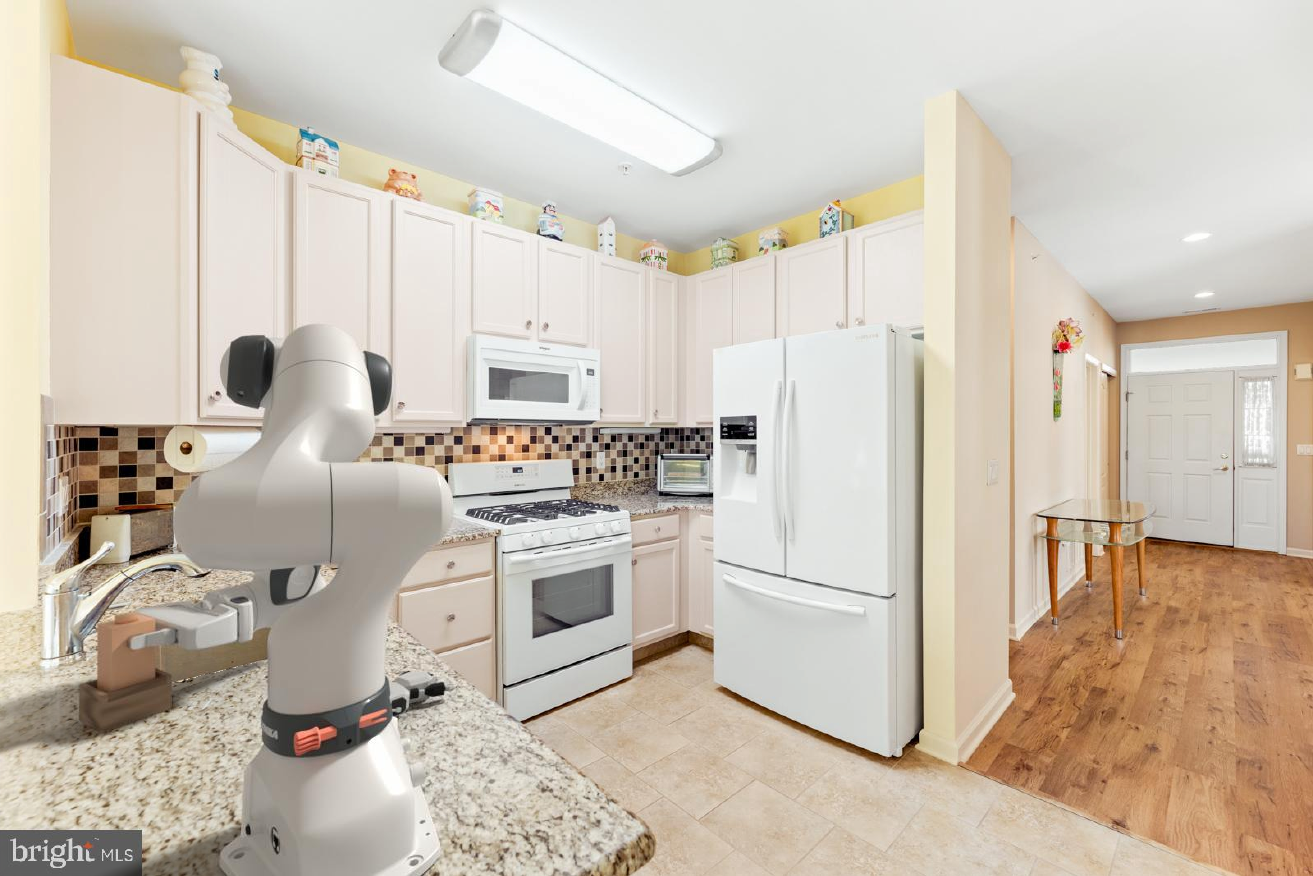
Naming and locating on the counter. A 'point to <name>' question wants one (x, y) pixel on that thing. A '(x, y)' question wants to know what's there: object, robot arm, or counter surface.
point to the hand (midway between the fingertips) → (118, 639)
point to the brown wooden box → (124, 702)
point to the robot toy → (415, 689)
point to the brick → (123, 652)
